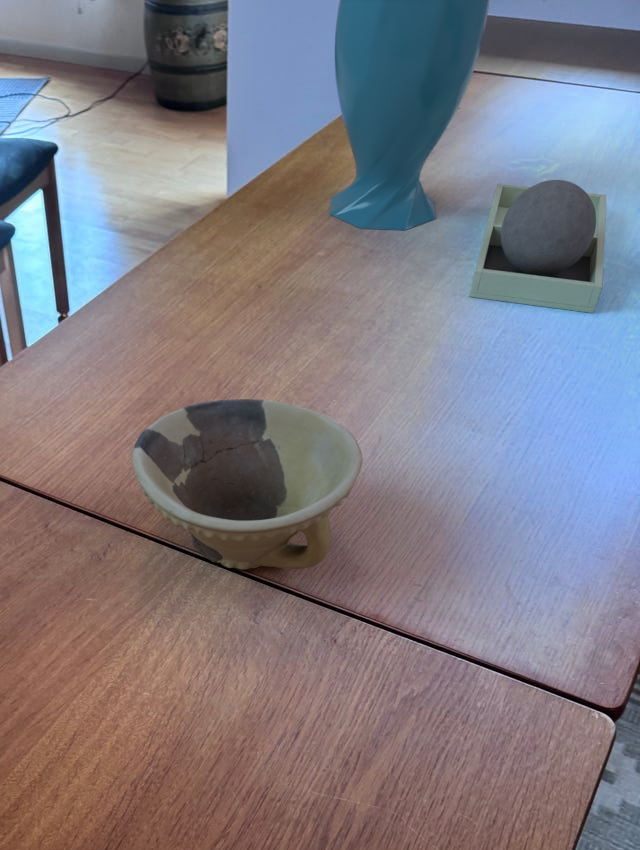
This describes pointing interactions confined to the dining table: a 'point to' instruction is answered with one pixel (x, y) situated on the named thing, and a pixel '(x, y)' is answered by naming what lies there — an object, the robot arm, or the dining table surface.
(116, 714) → the dining table surface
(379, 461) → the dining table surface
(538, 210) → the decorative ball
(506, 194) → the organizer
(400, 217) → the vase
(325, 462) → the bowl
